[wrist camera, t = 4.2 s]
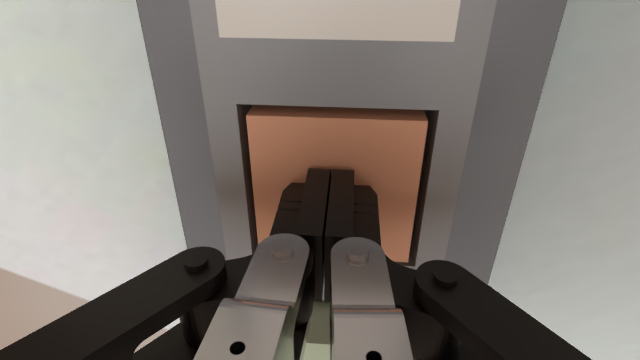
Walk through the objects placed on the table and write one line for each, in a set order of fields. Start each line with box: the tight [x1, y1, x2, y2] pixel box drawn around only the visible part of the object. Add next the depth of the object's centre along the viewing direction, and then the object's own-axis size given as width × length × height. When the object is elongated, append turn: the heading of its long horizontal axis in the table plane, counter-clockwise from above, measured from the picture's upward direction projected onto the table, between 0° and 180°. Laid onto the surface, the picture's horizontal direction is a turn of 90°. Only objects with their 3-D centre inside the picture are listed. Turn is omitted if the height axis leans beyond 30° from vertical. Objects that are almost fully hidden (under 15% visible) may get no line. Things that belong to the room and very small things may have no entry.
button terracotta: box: [246, 105, 428, 262], centre depth 15 cm, size 5×5×3 cm
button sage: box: [303, 300, 330, 360], centre depth 18 cm, size 5×5×3 cm
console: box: [136, 0, 567, 300], centre depth 16 cm, size 15×24×6 cm, turn 0°
